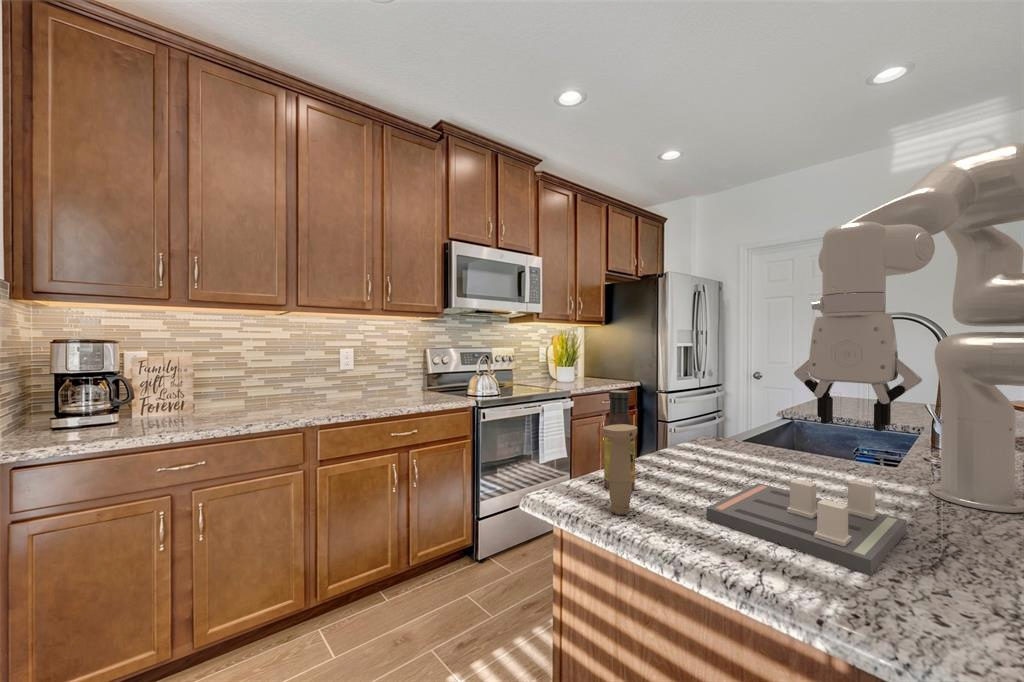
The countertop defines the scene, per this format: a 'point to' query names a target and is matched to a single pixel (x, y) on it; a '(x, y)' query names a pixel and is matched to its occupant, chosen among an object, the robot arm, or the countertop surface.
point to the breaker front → (832, 522)
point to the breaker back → (861, 499)
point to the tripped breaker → (803, 498)
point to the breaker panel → (807, 528)
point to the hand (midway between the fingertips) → (852, 425)
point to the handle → (620, 466)
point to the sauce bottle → (616, 416)
